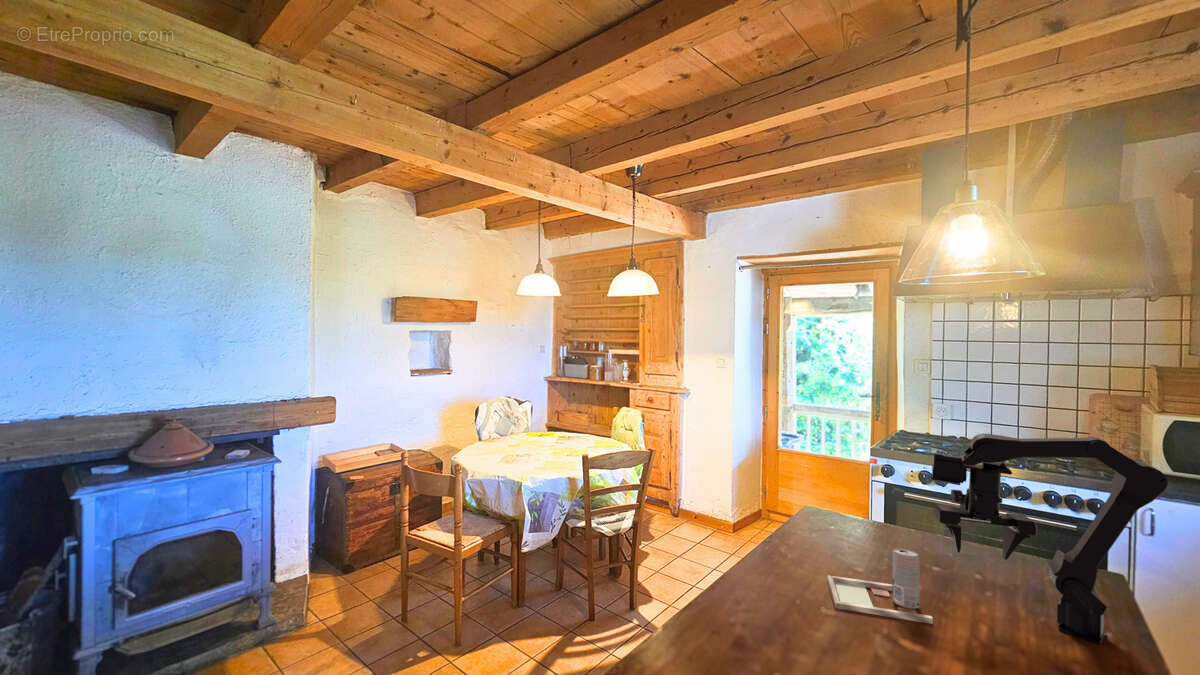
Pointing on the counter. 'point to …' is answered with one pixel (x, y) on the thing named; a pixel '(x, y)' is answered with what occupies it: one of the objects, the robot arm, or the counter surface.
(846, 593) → the sage tile
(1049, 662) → the counter surface
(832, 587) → the lane frame
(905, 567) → the energy drink
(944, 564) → the counter surface
